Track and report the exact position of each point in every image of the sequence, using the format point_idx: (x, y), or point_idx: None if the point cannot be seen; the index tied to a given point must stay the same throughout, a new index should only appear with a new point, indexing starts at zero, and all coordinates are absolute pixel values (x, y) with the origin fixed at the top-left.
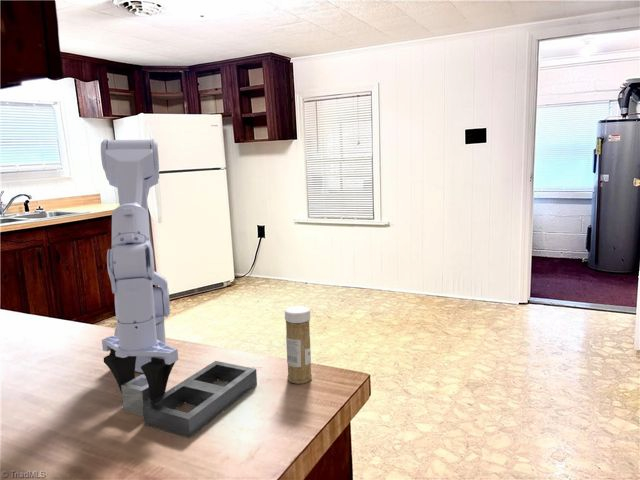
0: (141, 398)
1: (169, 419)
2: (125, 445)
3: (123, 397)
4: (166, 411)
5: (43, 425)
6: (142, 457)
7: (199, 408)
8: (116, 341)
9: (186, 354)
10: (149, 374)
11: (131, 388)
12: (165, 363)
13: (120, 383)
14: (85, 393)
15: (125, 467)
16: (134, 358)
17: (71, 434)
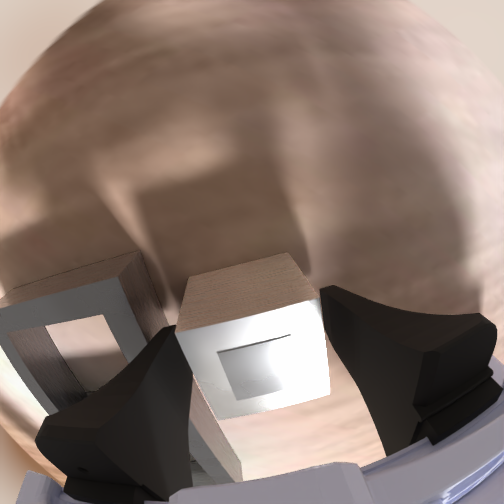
0: (185, 309)
1: (31, 293)
2: (79, 150)
3: (294, 274)
4: (37, 307)
5: (404, 61)
6: (11, 164)
7: (15, 362)
8: (495, 460)
9: (379, 449)
10: (81, 410)
11: (244, 315)
12: (41, 476)
13: (347, 305)
14: (463, 231)
15: (11, 117)
16: (380, 431)
17: (289, 63)
